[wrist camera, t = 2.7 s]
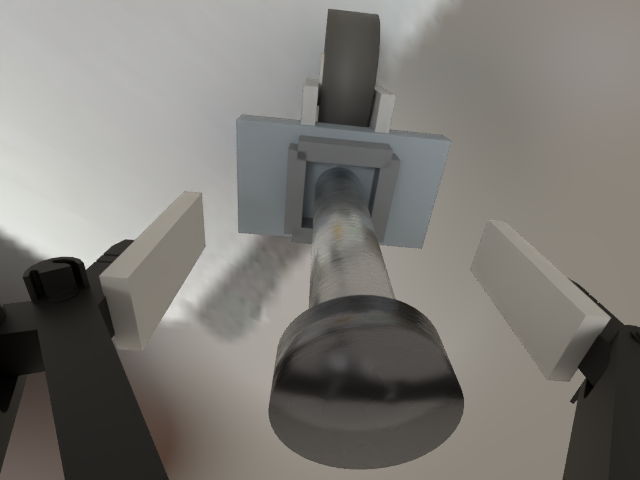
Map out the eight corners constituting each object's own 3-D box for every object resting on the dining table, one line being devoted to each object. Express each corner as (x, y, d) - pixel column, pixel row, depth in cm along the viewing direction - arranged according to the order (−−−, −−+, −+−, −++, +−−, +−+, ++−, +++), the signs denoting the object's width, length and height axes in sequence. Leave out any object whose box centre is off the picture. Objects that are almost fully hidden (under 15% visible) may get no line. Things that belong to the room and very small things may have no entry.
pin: (303, 149, 19) (271, 337, 7) (380, 157, 20) (492, 353, 7) (298, 219, 22) (266, 464, 9) (367, 225, 22) (434, 474, 9)
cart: (261, 182, 31) (233, 244, 21) (264, 8, 24) (226, -23, 14) (393, 194, 31) (428, 260, 21) (429, 27, 25) (501, 10, 15)
